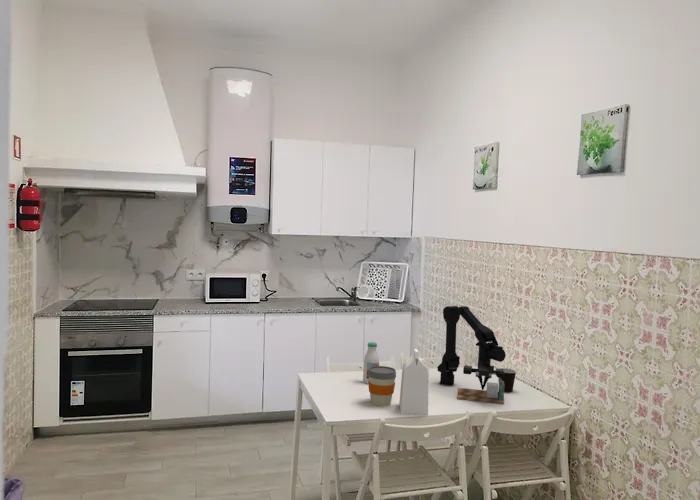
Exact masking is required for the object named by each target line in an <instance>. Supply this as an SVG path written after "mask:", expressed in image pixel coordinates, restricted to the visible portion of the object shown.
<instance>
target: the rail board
mask: <svg viewBox="0 0 700 500" xmlns="http://www.w3.org/2000/svg"><path fill="white" fill-rule="evenodd" d="M504 387H505V385H504V381H499V380H498V399H495V398H486V395H487V391H486V390H485V389H484V390H482V389H475V388H467V387H466V388H465V387H457V393H456V400H462V401H470V402H477V403H478V402H479V403H487V404H488V403H489V404H498V405H504V403H505V401H504V400H505V392H504Z"/></svg>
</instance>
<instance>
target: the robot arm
mask: <svg viewBox="0 0 700 500" xmlns="http://www.w3.org/2000/svg"><path fill="white" fill-rule="evenodd" d="M442 314H443V316H442V317H443V320H444V321H445V325H446V326H445V352H444V354H443V355H442V359H441V363H440V364H438V365H437V367H436V368H437V372H439V373H440V379H439V385H442V386H443V385H444V386H454V384H455V374H454V373H455V372H458V368H459V367H460V366H459V365H460V364H461V363H460V360H461V359H460V358H461V357H460V355H458V354H457V351H456V349H457V347H456V345H457V325H458V322H459V321H460V317H461V318H462V319H463V320H464V321H465V322H466V323H467V324H468V325H469V327H470V328H471V329H472V330H473V332H474V336H475V338H476V340H477V341H478V342H476V343H475V346H477V347H478V357H477V368H473V366H472V365H464V366H463V370H462V374H464V375H471V374H472V373H475V377H477V379H478V380H479V383H480V388H481V390H485V387H486V386H487V382H489V379H492V375H495V377H497V378H498V377H500V378H504V376H505V372H504V370H503V369H500V368H495V366H494V365H491V362H492V361H491V360H493V361H496V362H499V363H501V362H503V361H504V360H505V359H506V355H507V354H506V351H505V350H504V347H503V346H501V345H499V343H498V342H499V341H498V340H497V338H496V336H495V332H494V331H493V330H492V329H490V327H488V326H486V325H484V324H483V323H482V322H481V321H480V320H479V319H478V318H477V317H476V315H475V314H474V313H473V312H472V311H471V310H470V308H469V306H467V305H466V306H465V305H463V306H462V305H460V306H458V305H449V306H448V305H447V306H445V307H443V310H442Z"/></svg>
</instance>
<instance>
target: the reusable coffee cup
mask: <svg viewBox="0 0 700 500" xmlns="http://www.w3.org/2000/svg"><path fill="white" fill-rule="evenodd" d="M368 376H369V381H368V384H367V385H368V392H369V395H370V396H369V397H370V403H371V405H373V406H378V407H387V406H390V405H391V404H392V398H393V394H394V393H395V392H394V391H395V387H396V382H395V381H396V378H397V370H396V369H395V368H394V367H390V366H385V365H379V366H374V367H370V368H369V371H368Z"/></svg>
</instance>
